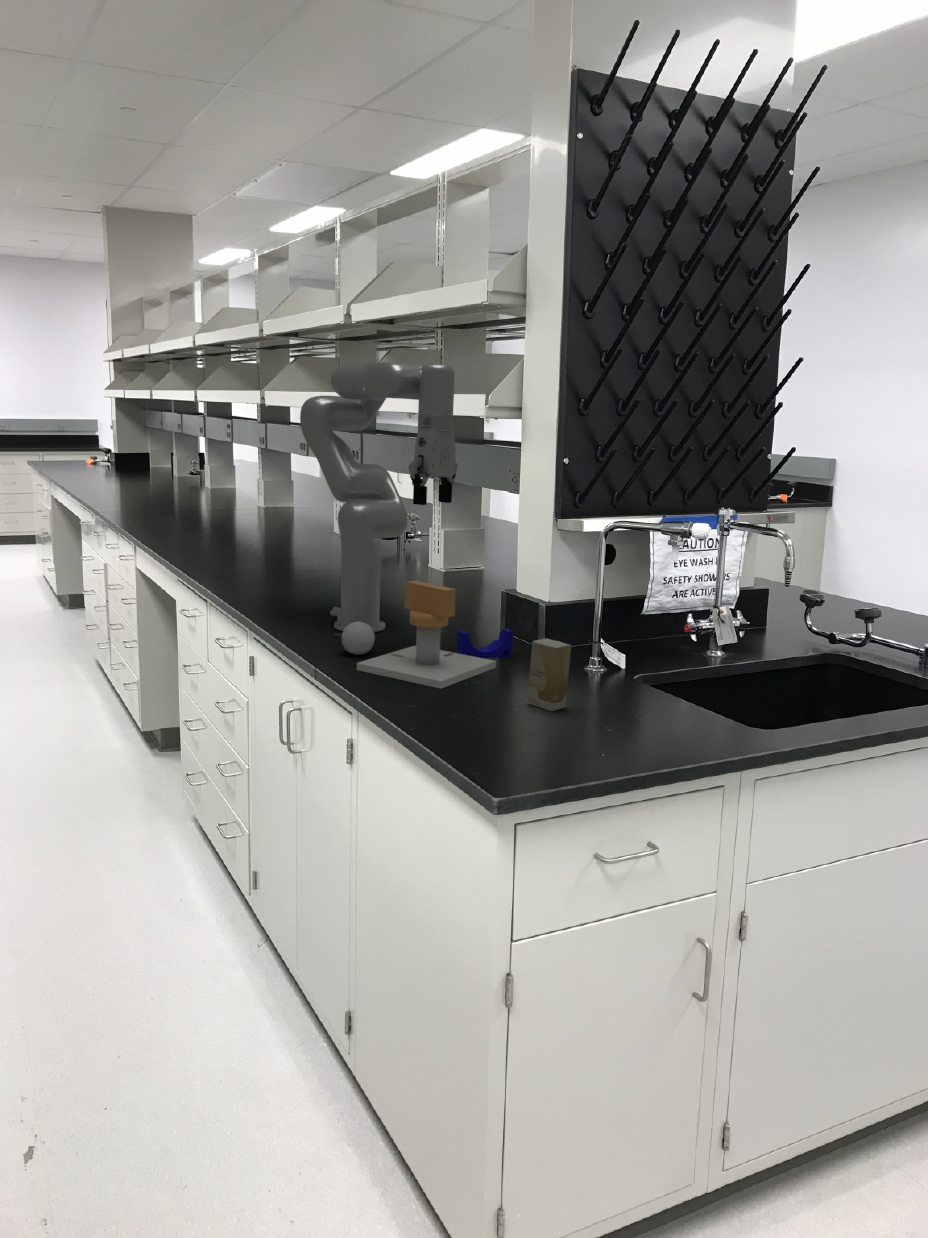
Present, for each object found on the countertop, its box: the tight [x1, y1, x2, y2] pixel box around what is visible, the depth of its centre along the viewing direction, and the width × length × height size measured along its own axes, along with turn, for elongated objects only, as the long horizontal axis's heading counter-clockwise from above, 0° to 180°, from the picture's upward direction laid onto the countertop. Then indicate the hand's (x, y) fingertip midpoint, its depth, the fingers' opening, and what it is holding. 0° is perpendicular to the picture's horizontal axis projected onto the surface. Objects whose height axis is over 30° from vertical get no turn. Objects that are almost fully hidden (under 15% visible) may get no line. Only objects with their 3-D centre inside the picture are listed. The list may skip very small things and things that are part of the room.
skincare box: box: [527, 637, 572, 712], centre depth 173 cm, size 6×4×12 cm
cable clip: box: [456, 628, 514, 659], centre depth 210 cm, size 12×4×6 cm, turn 110°
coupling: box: [404, 580, 457, 628], centre depth 194 cm, size 12×8×8 cm, turn 45°
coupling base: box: [356, 626, 497, 689], centre depth 196 cm, size 21×21×10 cm
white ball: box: [335, 622, 376, 656], centre depth 206 cm, size 10×7×7 cm
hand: (432, 503), depth 205 cm, fingers open, 9 cm apart
